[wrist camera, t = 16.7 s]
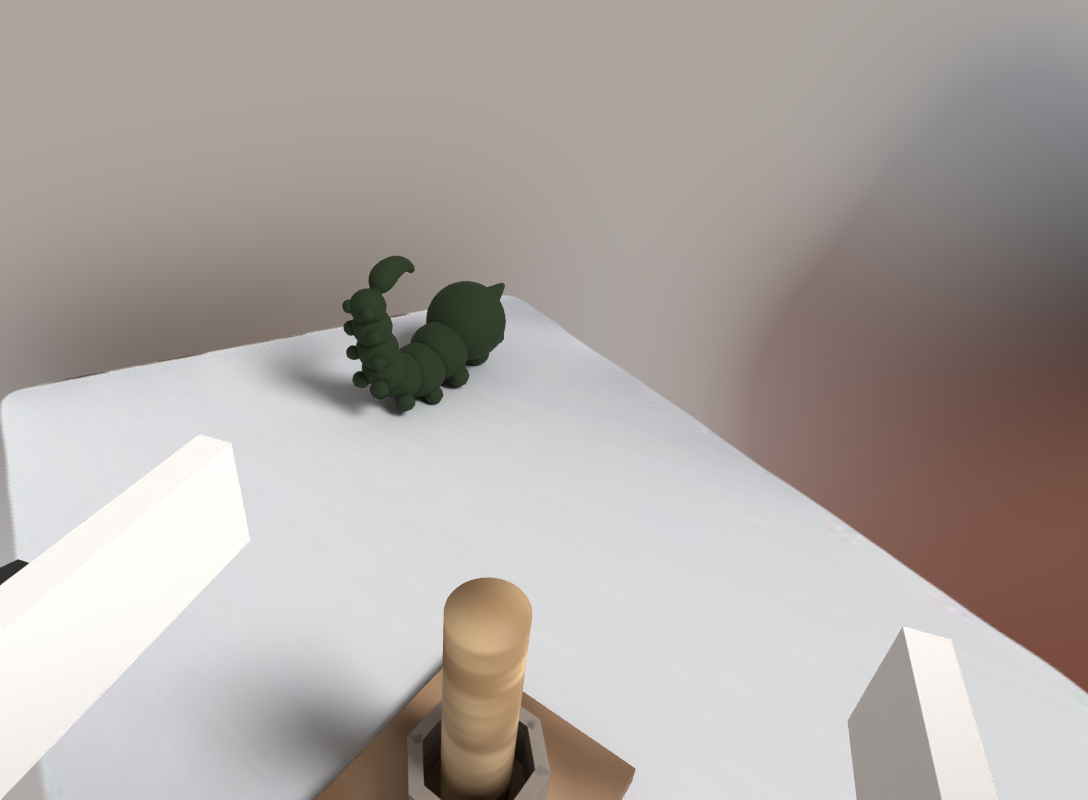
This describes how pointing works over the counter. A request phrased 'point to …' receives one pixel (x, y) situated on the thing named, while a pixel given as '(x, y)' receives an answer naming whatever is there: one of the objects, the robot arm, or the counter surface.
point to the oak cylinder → (482, 687)
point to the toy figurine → (422, 336)
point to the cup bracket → (538, 768)
